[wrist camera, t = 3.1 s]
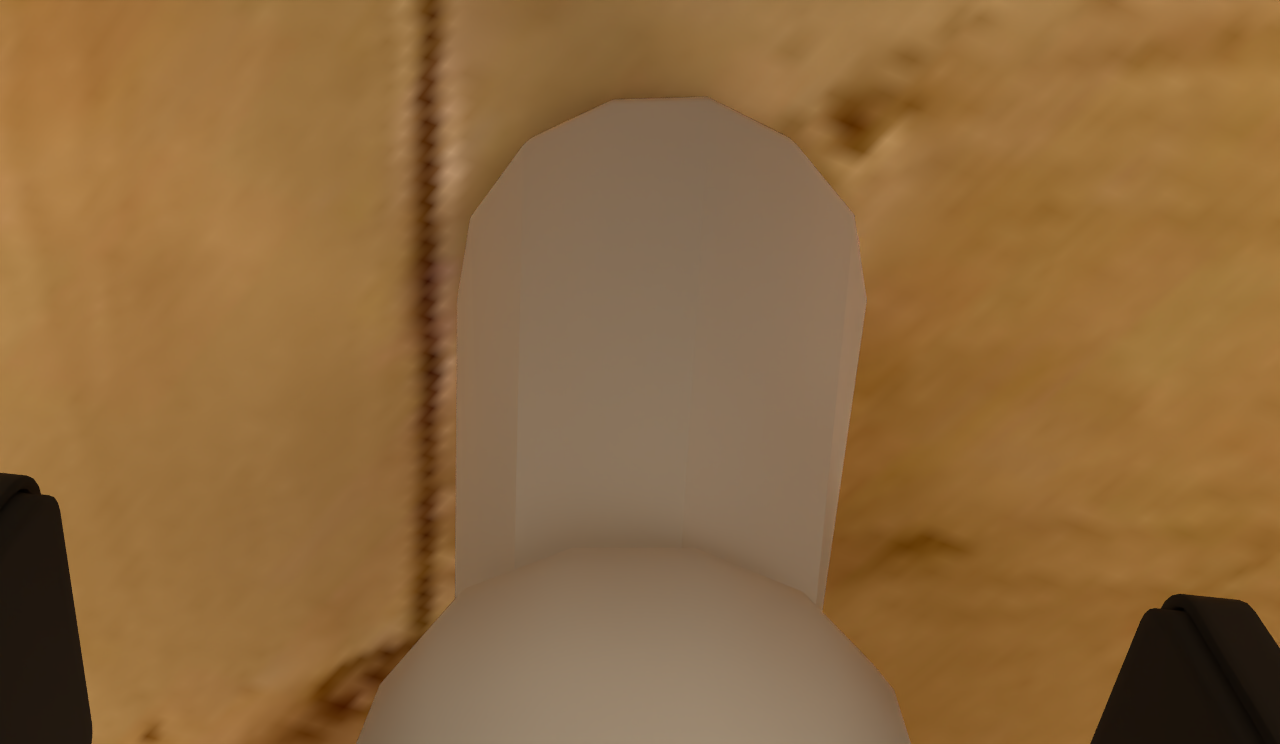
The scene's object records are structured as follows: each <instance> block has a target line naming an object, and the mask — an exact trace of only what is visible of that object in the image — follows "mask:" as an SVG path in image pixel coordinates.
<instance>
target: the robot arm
mask: <svg viewBox="0 0 1280 744" xmlns="http://www.w3.org/2000/svg"><path fill="white" fill-rule="evenodd" d="M91 743H92V721H91V714H90V707H89V701H88V694H87V687H86V681H85V674H84V667H83V660H82V654H81V647H80V640H79V634H78V627H77V620H76V614H75V607H74V600H73V594H72V587H71V580H70V574H69V567H68V560H67V554H66V547H65V540H64V533H63V527H62V520H61V513H60V509H59V505H58V502H57V501H56V499H55V498H54V497H52V496H50V495H41V493H40V489H39V486H38V484H37V483H36V481H35V480H34V479H33V478H31V477H29V476H26V475H16V474H6V473H0V744H91ZM1091 744H1280V648H1279V647H1278V645H1277V644H1276V642H1275V641H1274V639H1273V638H1272V636H1271V635H1270V633H1269V632H1268V630H1267V629H1266V627H1265V626H1264V624H1263V623H1262V621H1261V620H1260V618H1259V617H1258V615H1257V614H1256V612H1255V611H1254V610H1253V609H1252V608H1251V607H1250V606H1249V605H1248V604H1247V603H1245V602H1243V601H1240V600H1234V599H1224V598H1214V597H1204V596H1195V595H1185V594H1177V595H1172V596H1171V597H1170V598H1168V599H1167V600H1166V601H1165V602H1164V604H1163V606H1162V608H1161V609H1157V608H1154V609H1149V610H1148V611H1147V612H1146V613H1145V614H1144V616H1143V618H1142V619H1141V621H1140V624H1139V626H1138V628H1137V631H1136V633H1135V636H1134V638H1133V641H1132V643H1131V646H1130V648H1129V651H1128V653H1127V655H1126V658H1125V660H1124V663H1123V665H1122V668H1121V670H1120V673H1119V675H1118V677H1117V680H1116V682H1115V685H1114V687H1113V690H1112V692H1111V695H1110V697H1109V700H1108V702H1107V704H1106V707H1105V709H1104V712H1103V714H1102V717H1101V719H1100V722H1099V724H1098V727H1097V729H1096V731H1095V734H1094V736H1093V739H1092V741H1091Z"/></svg>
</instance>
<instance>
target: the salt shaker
mask: <svg viewBox="0 0 1280 744" xmlns="http://www.w3.org/2000/svg"><path fill="white" fill-rule="evenodd" d="M866 303H867V298H866V291H865V284H864V277H863V270H862V263H861V257H860V250H859V243H858V236H857V229H856V222H855V215H854V214H853V213H852V212H851V210H850V209H849V208H848V207H847V205H846V204H845V203H844V202H843V201H842V199H841V198H840V197H839V196H838V194H837V193H836V192H835V191H834V190H833V188H832V187H831V186H830V185H829V184H828V182H827V181H826V180H825V179H824V177H823V176H822V175H821V174H820V173H819V171H818V170H817V169H816V168H815V166H814V165H813V164H812V163H811V162H810V160H809V159H808V158H807V157H806V155H805V154H804V153H803V152H802V151H801V149H800V148H799V147H798V146H797V145H796V144H795V143H794V142H793V141H792V140H791V139H790V138H789V137H787V136H785V135H783V134H781V133H779V132H777V131H775V130H773V129H771V128H769V127H767V126H765V125H763V124H761V123H759V122H757V121H755V120H753V119H751V118H749V117H747V116H745V115H743V114H741V113H739V112H737V111H735V110H733V109H731V108H729V107H727V106H725V105H723V104H721V103H719V102H717V101H715V100H713V99H711V98H709V97H676V98H640V99H613V100H610V101H608V102H606V103H604V104H602V105H600V106H598V107H595V108H593V109H591V110H589V111H587V112H585V113H583V114H581V115H578V116H576V117H574V118H572V119H570V120H568V121H566V122H563V123H561V124H559V125H557V126H555V127H553V128H551V129H548V130H546V131H544V132H542V133H540V134H538V135H536V136H533V137H532V138H530V139H529V140H528V141H527V142H526V143H525V144H524V145H523V146H522V147H521V149H520V150H519V151H518V153H517V154H516V155H515V157H514V158H513V160H512V161H511V162H510V164H509V165H508V166H507V168H506V169H505V171H504V172H503V173H502V175H501V176H500V177H499V179H498V180H497V182H496V183H495V184H494V186H493V187H492V188H491V190H490V191H489V193H488V194H487V195H486V197H485V198H484V199H483V201H482V202H481V204H480V205H479V206H478V208H477V209H476V210H475V212H474V213H473V214H472V216H471V217H470V223H469V229H468V235H467V241H466V248H465V254H464V260H463V266H462V273H461V279H460V285H459V291H458V298H457V393H456V536H455V600H454V601H453V602H452V603H451V604H450V605H449V606H448V607H447V609H446V610H445V611H444V612H443V613H442V614H441V615H440V617H439V618H438V619H437V620H436V621H435V622H434V623H433V625H432V626H431V627H430V628H429V629H428V630H427V631H426V633H425V634H424V635H423V636H422V637H421V638H420V639H419V641H418V642H417V643H416V644H415V645H414V646H413V647H412V648H411V650H410V651H409V652H408V653H407V654H406V655H405V656H404V658H403V659H402V660H401V661H400V662H399V663H398V664H397V666H396V667H395V668H394V669H393V670H392V671H391V672H390V674H389V675H388V676H387V677H386V678H385V679H384V680H383V682H382V683H381V684H380V686H379V688H378V691H377V693H376V696H375V698H374V701H373V703H372V706H371V708H370V711H369V713H368V716H367V718H366V721H365V723H364V726H363V728H362V731H361V733H360V736H359V738H358V741H357V743H356V744H911V743H910V739H909V736H908V733H907V730H906V727H905V724H904V720H903V717H902V714H901V711H900V708H899V704H898V701H897V698H896V695H895V692H894V689H893V688H892V687H891V686H890V684H889V683H888V682H887V681H886V680H885V678H884V677H883V676H882V675H881V673H880V672H879V671H878V670H877V668H876V667H875V666H874V665H873V664H872V663H871V662H870V661H869V660H868V658H867V657H866V656H865V655H864V654H863V653H862V652H861V651H860V650H859V649H858V648H857V647H856V646H855V645H854V644H853V643H852V642H851V641H850V640H849V639H848V638H847V637H846V636H845V635H844V634H843V633H842V632H841V631H840V630H839V629H838V628H837V627H836V625H835V624H834V623H833V622H832V621H831V620H830V619H829V618H828V617H827V616H826V615H825V614H824V613H823V612H822V610H823V603H824V596H825V589H826V582H827V575H828V568H829V561H830V554H831V547H832V540H833V533H834V526H835V519H836V512H837V505H838V498H839V491H840V484H841V477H842V470H843V463H844V456H845V449H846V442H847V435H848V428H849V421H850V414H851V407H852V400H853V393H854V387H855V380H856V373H857V366H858V359H859V352H860V345H861V338H862V331H863V324H864V317H865V310H866Z"/></svg>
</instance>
